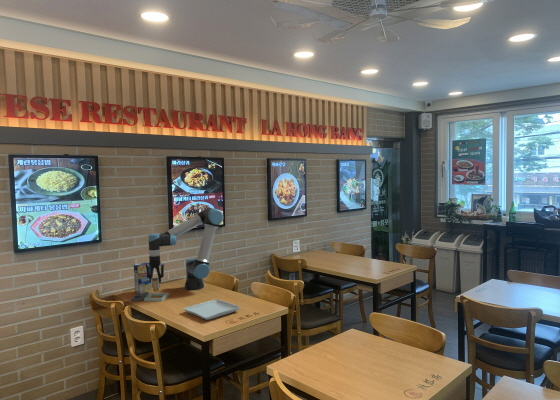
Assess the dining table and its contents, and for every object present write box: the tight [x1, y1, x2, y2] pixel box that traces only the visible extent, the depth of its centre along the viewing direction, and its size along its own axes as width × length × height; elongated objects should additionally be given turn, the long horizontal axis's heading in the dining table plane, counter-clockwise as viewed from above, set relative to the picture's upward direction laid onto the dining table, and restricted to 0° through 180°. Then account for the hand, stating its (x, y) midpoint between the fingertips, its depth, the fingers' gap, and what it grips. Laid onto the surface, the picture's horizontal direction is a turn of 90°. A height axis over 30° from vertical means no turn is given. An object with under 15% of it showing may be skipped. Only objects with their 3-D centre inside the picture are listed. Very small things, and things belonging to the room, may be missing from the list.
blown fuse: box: [152, 277, 160, 293], centre depth 294 cm, size 4×4×9 cm
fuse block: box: [130, 292, 150, 302], centre depth 296 cm, size 7×16×3 cm, turn 176°
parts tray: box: [143, 292, 169, 302], centre depth 294 cm, size 13×13×2 cm
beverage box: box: [133, 262, 153, 295], centre depth 312 cm, size 7×11×22 cm, turn 134°
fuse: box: [139, 283, 145, 295], centre depth 300 cm, size 4×4×9 cm
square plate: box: [182, 298, 241, 321], centre depth 262 cm, size 27×27×4 cm
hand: (155, 287), depth 294 cm, fingers closed on blown fuse, 4 cm apart
